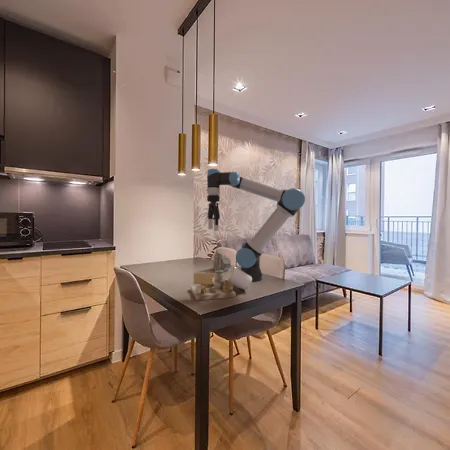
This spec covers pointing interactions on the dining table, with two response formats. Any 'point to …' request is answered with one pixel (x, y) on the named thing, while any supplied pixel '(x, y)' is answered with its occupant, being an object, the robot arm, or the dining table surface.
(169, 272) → the dining table surface
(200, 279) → the wing knob
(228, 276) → the candle holder
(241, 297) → the dining table surface
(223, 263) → the ceramic cottage
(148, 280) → the dining table surface
